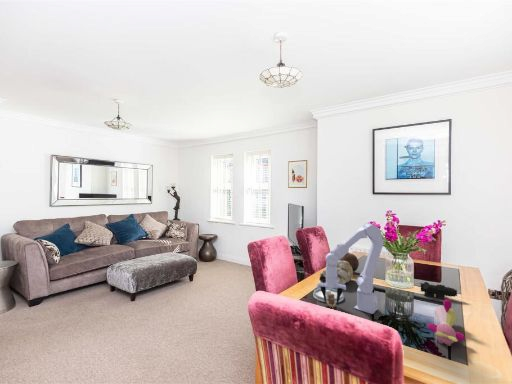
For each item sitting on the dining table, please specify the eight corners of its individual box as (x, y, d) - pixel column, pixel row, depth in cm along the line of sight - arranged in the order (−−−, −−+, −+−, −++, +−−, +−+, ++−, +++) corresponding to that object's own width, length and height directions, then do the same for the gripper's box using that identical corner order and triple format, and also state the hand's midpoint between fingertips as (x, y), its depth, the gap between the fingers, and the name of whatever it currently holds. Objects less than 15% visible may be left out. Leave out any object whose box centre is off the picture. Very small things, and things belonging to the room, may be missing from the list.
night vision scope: (456, 304, 148) (458, 297, 142) (419, 297, 158) (419, 291, 152) (455, 290, 153) (456, 283, 146) (419, 285, 162) (419, 278, 156)
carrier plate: (348, 296, 152) (348, 290, 152) (335, 305, 140) (335, 299, 140) (322, 289, 164) (322, 283, 164) (307, 297, 152) (307, 291, 152)
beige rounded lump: (314, 280, 177) (341, 267, 190) (329, 298, 168) (357, 283, 180) (320, 265, 168) (349, 252, 180) (336, 284, 158) (365, 268, 171)
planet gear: (337, 305, 140) (337, 294, 140) (333, 308, 136) (333, 297, 136) (329, 303, 143) (329, 292, 143) (324, 306, 140) (324, 294, 140)
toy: (428, 314, 129) (425, 345, 104) (432, 290, 128) (429, 316, 103) (460, 325, 122) (465, 360, 97) (464, 299, 121) (469, 329, 96)
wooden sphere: (362, 272, 197) (362, 252, 197) (352, 277, 187) (352, 256, 187) (343, 268, 208) (344, 249, 208) (333, 272, 198) (333, 252, 198)
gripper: (345, 274, 142) (344, 300, 142) (317, 272, 145) (317, 297, 145) (346, 279, 135) (346, 305, 135) (317, 277, 138) (317, 302, 138)
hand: (331, 301), depth 140 cm, fingers open, 6 cm apart
